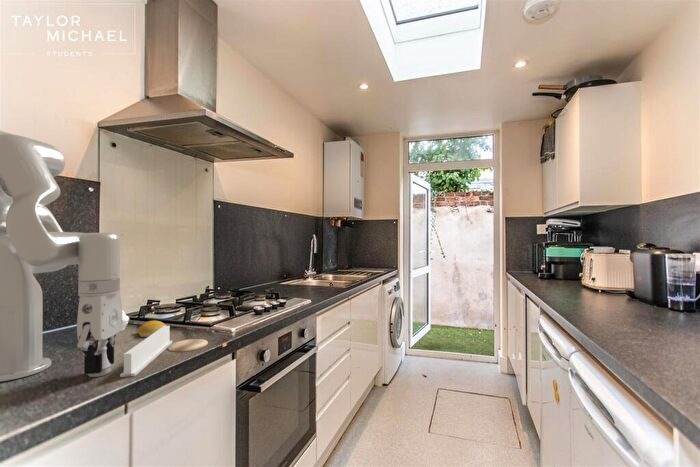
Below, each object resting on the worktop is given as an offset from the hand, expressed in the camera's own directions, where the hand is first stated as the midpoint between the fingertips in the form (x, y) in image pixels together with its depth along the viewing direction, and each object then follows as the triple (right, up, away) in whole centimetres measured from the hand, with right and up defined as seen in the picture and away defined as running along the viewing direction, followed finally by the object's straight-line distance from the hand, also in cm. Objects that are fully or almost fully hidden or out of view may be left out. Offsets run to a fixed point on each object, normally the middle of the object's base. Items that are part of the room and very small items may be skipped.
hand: (99, 367), depth 76 cm
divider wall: (+5, -1, +10) cm, 11 cm away
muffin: (-21, -2, +36) cm, 41 cm away
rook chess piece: (0, -2, 0) cm, 2 cm away
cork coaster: (+11, -2, +19) cm, 22 cm away
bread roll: (-7, -2, +32) cm, 33 cm away
